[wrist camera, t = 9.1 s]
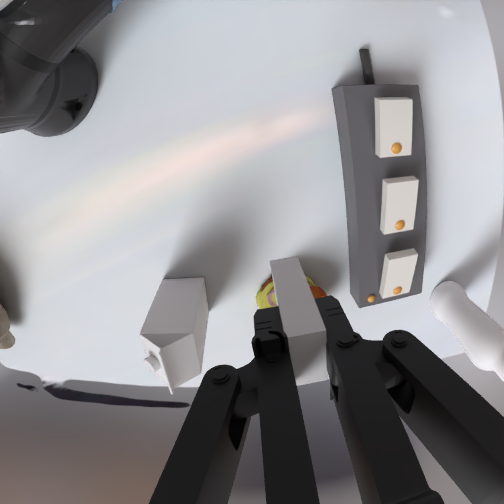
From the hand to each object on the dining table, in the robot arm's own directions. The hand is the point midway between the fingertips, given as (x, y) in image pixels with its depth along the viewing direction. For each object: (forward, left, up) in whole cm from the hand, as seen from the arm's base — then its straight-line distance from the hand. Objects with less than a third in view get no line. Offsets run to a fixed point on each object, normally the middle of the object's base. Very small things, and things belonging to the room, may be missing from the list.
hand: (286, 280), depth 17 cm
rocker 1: (-6, +19, -24) cm, 31 cm away
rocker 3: (+16, +19, -24) cm, 34 cm away
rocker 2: (+5, +19, -24) cm, 31 cm away
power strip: (+2, +19, -30) cm, 36 cm away
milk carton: (+17, -15, -31) cm, 38 cm away
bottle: (+28, +34, -31) cm, 54 cm away
